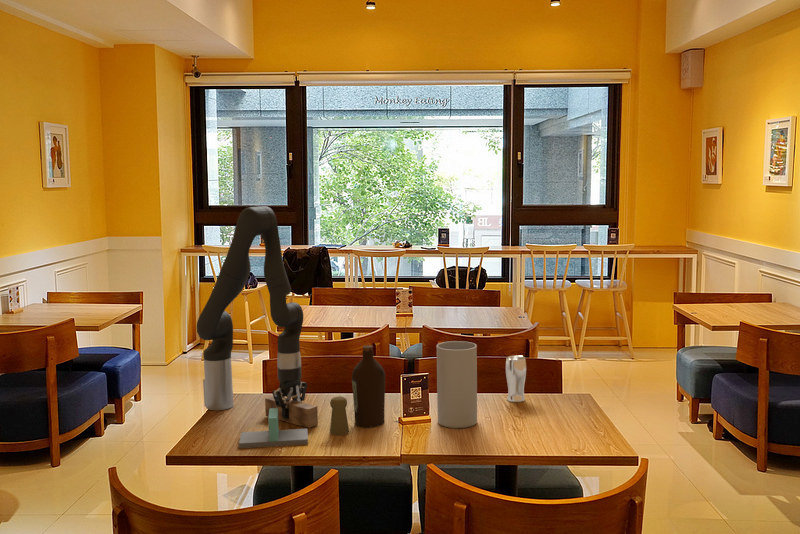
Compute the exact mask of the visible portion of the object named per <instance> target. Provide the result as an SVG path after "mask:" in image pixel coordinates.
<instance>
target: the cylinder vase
mask: <svg viewBox="0 0 800 534" xmlns="http://www.w3.org/2000/svg"><path fill="white" fill-rule="evenodd" d="M477 345H478V344H476V343H474V342H469V341H464V340H463V341H461V340H460V341H459V340H455V341H454V340H452V341H443V342H441V343H440V342H439V343H437V344H436V388H437V389H436V394H437V396H436V397H437V398H436V400H437V403H436V404H437V405H436V406H437V407H436V408H437V423H438V424H439V425H441V426H442V427H444V428H449V429H465V428H466V429H467V428H470V427H474V426H475V425H476V424H477V422H478V370H477V369H478V367H477V365H478V364H477V358H478V357H477V356H478V352H477V349H478V346H477Z"/></svg>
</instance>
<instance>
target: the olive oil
mask: <svg viewBox="0 0 800 534" xmlns="http://www.w3.org/2000/svg"><path fill="white" fill-rule="evenodd" d="M373 348H374V346H373V345H369V344H367V345H363V346H362V358H361V359H360V361H358V363H357V364H356V365H355V366H354V368H353V370H352V373H351V385H352V387H351V388H352V397H353V398H352V399H353V411H354V423H355V425H356V426H357V427H360V426H361V427H362V428H375V427H380V426H383V425H384V424H385V402H386V401H385V397H386V373H385V369H384V367H383V366H382V365H381V364H380V363H379V362H378V361H377V360H376V359H375V358H374V350H373ZM361 427H360V428H361Z"/></svg>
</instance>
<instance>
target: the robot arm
mask: <svg viewBox="0 0 800 534" xmlns="http://www.w3.org/2000/svg"><path fill="white" fill-rule="evenodd" d="M257 236H261V238H262V241H263V244H264V249H265V250H264V253H265V254H264V255H265V256H264V262H263V276H264V281H265V283H266V287H267V290H268V293H269V310H270V317H271V320H272V322H273V323H274V324H275V325H276V327H278V328H283V329H284V330H283V331H282V332H281V333H279V334H278V336H277V343H276V344H277V356H276V357H277V360H276V363H277V365H276V366H277V380H278V381H279V384H278V385H279V386H278V388H277V389H275V390H274V389H273V390H272V391H271V392H272V393H271V394H272V396H273V397H274V400H275V403H276V406H277V407H281V408H282V417H283V418H284V419H289V408H288V406H289V401H290V400H294V401H298V402H305V399H306V395H307V394H306V393H307V388H308V383H307V382H305V381H301V379H302V377H303V376H302V357H301V347H300V346H301V345H300V344H301V343H300V337H301V333H302V329H303V325H304V311H303V308H302V306H301V305H300V304H299V303H298V302H287V296H289V295H290V294H291V293H292V286H291V284H290V280H289V277H288V274H287V270H286V268H285V264H284V259H283V255H282V253H283V252H282V248H281V247H282V246H281V240H280V239H281V238H280V232H279V226H278V220H277V217H276V214H275V212H274V210H273V209H272V208H271V207H269V206H267V205H259V206H249V207H245V208H244V209H242V210H241V212H240V214H239V216H238V218H237V222H236V225H235V228H234V232H233V235H232V240H231V242H230V246H229V248H228V251H227V253H226V256H225V258H224V261H223V263H222V265H221V268H220V271H219V272H218V276H217V279H216V281H215V283H214V286H213V288H212V291H211V293H210V295H209V298H208V300H207V302H206V304H205V305H204V307H203V309H202V310H201V313H200V314H199V316H198V318H197V323H196V333H197V335H198V336H199V339H201V340H203V341H211V343H210V345H209V346H207V348H205V349H204V350H203V355H202V356H203V357H202V358H203V370H204V372H203V374H204V376H203V377H204V379H202V383H203V384H202V386H203V402H204V403H203V404H204V406H203V407H205V408H206V409H207V410H209V411H223V410H229V409H232V407H233V406H234V390H233V387H234V386H233V371H232V370H233V368H232V351H233V347H234V325H233V319H232V316H231V315H230V313H228V311H226V309H227V308H228V306H229V305H231V303H232V302H233V301H234V300H235V299H236V298H237V297H238V296H239V295H240V294H241V293H242V291H243V290H244V288H245V286H246V284H247V282H248V279H249V277H250V274H251V270H252V269H251V268H252V267H251V260H250V250H251V246H252V244H253V242H254V240H255V238H256V237H257ZM285 401H286V402H285Z"/></svg>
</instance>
